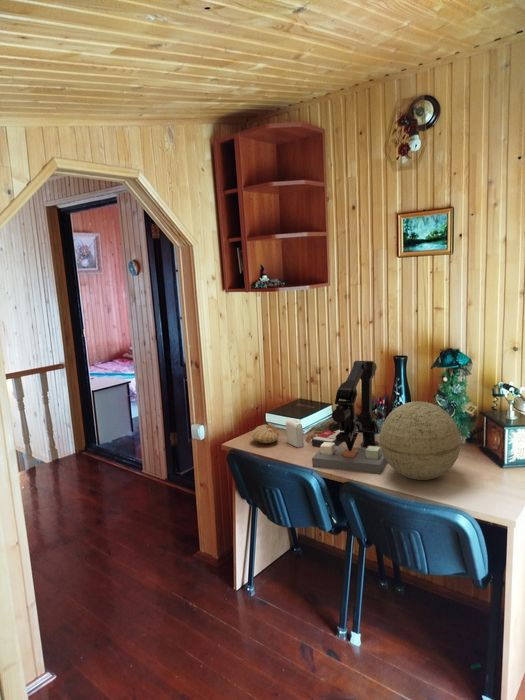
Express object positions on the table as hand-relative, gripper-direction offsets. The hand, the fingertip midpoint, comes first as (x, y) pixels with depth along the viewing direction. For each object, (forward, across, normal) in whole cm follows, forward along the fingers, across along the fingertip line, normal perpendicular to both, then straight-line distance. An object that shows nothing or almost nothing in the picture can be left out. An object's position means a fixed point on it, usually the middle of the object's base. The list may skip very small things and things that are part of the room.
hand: (350, 450), depth 220 cm
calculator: (+6, -21, -17) cm, 28 cm away
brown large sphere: (+6, +6, +30) cm, 31 cm away
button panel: (+6, 0, 0) cm, 6 cm away
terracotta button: (+5, 0, 0) cm, 5 cm away
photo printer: (+6, -15, -32) cm, 36 cm away
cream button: (+3, 0, -10) cm, 10 cm away
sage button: (+3, 0, +10) cm, 10 cm away
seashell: (+6, -18, -47) cm, 51 cm away
